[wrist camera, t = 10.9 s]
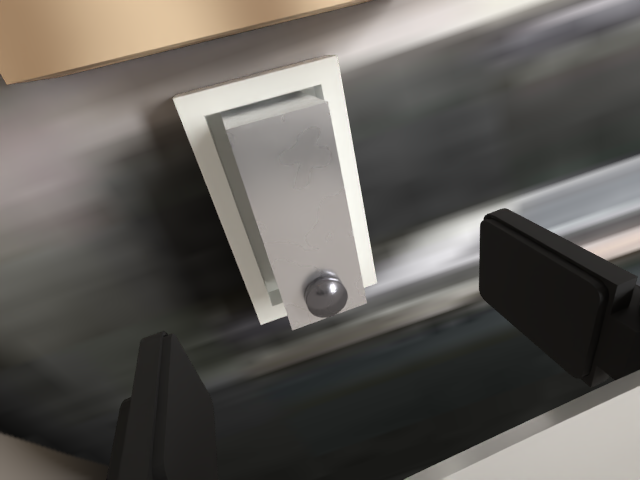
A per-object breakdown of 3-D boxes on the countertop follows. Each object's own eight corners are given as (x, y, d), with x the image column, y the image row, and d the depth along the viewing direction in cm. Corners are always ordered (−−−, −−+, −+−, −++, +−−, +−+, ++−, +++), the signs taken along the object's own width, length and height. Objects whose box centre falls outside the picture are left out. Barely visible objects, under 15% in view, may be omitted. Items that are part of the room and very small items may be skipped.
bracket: (257, 307, 24) (260, 324, 22) (175, 94, 17) (172, 98, 16) (366, 268, 25) (376, 283, 23) (325, 55, 18) (337, 55, 17)
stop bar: (298, 91, 19) (332, 103, 14) (336, 257, 23) (371, 310, 19) (220, 112, 18) (226, 132, 13) (275, 278, 23) (294, 338, 18)
